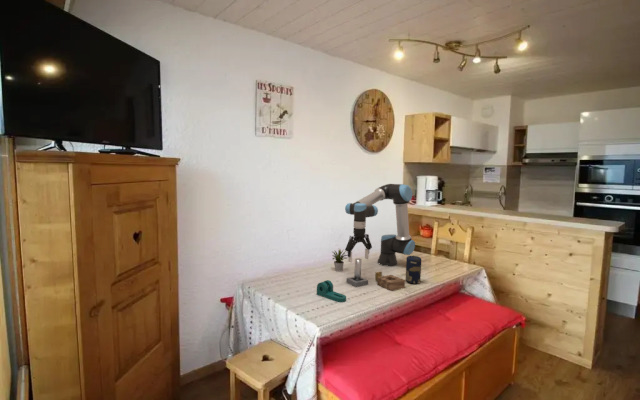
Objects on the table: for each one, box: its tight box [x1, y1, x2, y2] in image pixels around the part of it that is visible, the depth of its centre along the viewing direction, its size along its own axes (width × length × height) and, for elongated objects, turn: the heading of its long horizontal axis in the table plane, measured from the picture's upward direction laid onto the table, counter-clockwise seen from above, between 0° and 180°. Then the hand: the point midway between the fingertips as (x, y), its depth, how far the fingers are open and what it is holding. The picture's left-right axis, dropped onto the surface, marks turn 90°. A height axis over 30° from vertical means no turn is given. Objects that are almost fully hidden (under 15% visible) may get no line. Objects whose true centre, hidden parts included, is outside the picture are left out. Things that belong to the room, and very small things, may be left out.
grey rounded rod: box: [353, 258, 362, 281], centre depth 211 cm, size 4×4×16 cm
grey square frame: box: [345, 276, 369, 288], centre depth 211 cm, size 10×10×3 cm
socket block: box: [376, 274, 406, 292], centre depth 208 cm, size 12×12×5 cm
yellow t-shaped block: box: [374, 270, 383, 282], centre depth 214 cm, size 10×4×6 cm, turn 33°
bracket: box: [316, 280, 347, 303], centre depth 187 cm, size 18×7×8 cm, turn 49°
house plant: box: [332, 248, 348, 272], centre depth 237 cm, size 14×14×16 cm
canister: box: [405, 255, 422, 285], centre depth 217 cm, size 10×10×18 cm
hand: (358, 260), depth 210 cm, fingers open, 13 cm apart
